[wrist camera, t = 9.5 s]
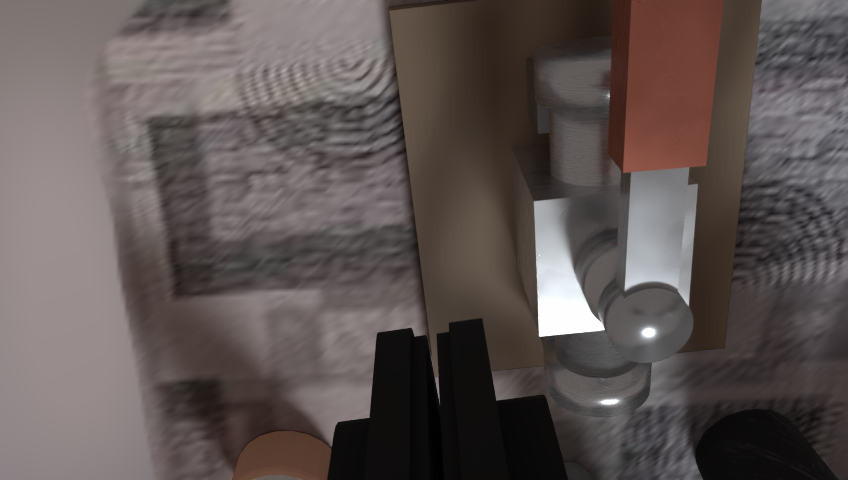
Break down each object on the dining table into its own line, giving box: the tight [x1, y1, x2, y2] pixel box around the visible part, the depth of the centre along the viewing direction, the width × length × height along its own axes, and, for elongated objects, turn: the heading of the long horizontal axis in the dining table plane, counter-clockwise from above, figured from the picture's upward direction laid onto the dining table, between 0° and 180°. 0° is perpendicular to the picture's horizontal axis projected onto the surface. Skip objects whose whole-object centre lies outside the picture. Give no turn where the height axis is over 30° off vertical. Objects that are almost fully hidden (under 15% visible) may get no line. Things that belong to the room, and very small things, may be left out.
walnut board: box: [389, 0, 762, 377], centre depth 38 cm, size 18×22×2 cm
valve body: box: [511, 36, 698, 417], centre depth 33 cm, size 7×18×10 cm, turn 6°
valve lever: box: [598, 0, 724, 363], centre depth 24 cm, size 15×3×2 cm, turn 5°
